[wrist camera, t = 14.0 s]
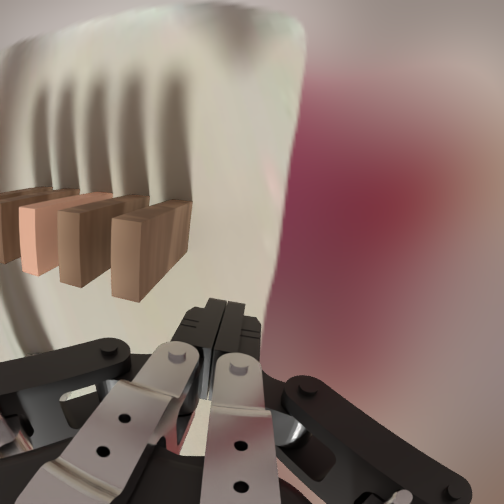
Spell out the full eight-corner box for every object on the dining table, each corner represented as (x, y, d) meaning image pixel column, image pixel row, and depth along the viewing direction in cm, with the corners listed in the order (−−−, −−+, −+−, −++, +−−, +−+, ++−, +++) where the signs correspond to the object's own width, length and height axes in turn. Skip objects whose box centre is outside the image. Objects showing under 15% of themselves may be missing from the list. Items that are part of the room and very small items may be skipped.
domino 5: (168, 248, 28) (111, 296, 16) (172, 199, 27) (111, 218, 15) (187, 251, 28) (139, 302, 16) (192, 201, 27) (141, 222, 15)
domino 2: (65, 230, 28) (-8, 259, 16) (67, 188, 27) (-11, 202, 15) (78, 233, 28) (4, 264, 16) (79, 189, 27) (1, 203, 15)
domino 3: (95, 236, 28) (22, 271, 16) (97, 191, 27) (18, 206, 15) (110, 239, 28) (38, 276, 16) (112, 193, 27) (34, 209, 15)
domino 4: (129, 241, 28) (60, 282, 16) (132, 194, 27) (57, 210, 15) (146, 244, 28) (81, 288, 16) (149, 196, 27) (79, 213, 15)
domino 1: (41, 226, 28) (-29, 251, 16) (42, 186, 27) (-32, 199, 15) (51, 228, 28) (-20, 255, 16) (52, 187, 27) (-23, 200, 15)
